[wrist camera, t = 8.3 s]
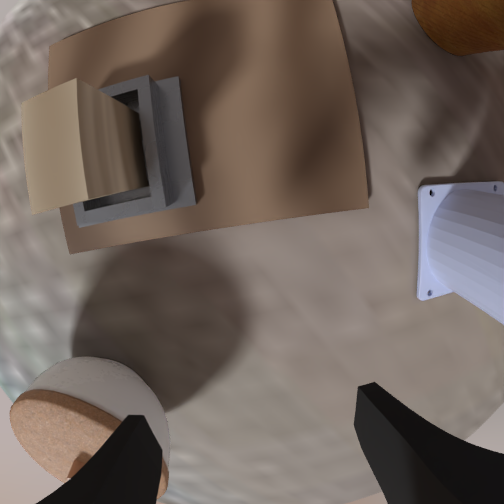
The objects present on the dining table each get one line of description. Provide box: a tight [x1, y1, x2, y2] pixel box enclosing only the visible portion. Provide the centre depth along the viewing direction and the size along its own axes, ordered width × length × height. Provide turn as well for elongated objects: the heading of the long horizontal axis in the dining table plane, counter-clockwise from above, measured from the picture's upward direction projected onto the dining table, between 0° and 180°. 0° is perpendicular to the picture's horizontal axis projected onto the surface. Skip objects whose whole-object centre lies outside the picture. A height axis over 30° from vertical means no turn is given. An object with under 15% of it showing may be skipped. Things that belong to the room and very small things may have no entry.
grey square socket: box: [73, 75, 197, 228], centre depth 13 cm, size 7×7×3 cm
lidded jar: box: [10, 356, 170, 499], centre depth 15 cm, size 11×11×9 cm
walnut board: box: [48, 0, 369, 254], centre depth 15 cm, size 18×14×1 cm
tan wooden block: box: [21, 78, 148, 215], centre depth 11 cm, size 2×4×7 cm, turn 8°
